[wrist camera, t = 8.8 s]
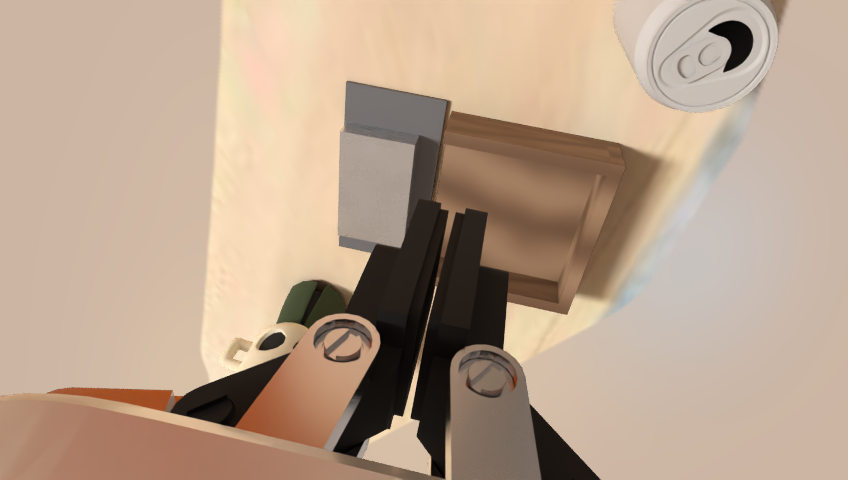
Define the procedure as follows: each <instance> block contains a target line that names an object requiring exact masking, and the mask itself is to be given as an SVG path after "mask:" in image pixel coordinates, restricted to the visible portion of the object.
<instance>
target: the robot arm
mask: <svg viewBox="0 0 848 480" xmlns="http://www.w3.org/2000/svg"><path fill="white" fill-rule="evenodd" d="M448 213H449V210H444V209H441V203H440V202H435V201H430V200H425V199H419V200H418V203H417V205H416V208H415V211H414V213H413V216H412V219H411V222H410V224H409V227H408V230H407V232H406V235H405V238H404V240H403V243H402V246H401V248H396V247H391V246H386V245H382V244H376V245H375V247H374V249H373V251H372V253H371V256H370V258H369V260H368V262H367V265H366V267H365V269H364V271H363V274H362V276H361V278H360V280H359V282H358V285H357V287H356V289H355V291H354V294H353V296H352V298H351V300H350V303H349V305H348V307H347V309H346V312H345V314H334V315H329V316H326V317H324V318H322V319H320V320H318V321H316V322H315V323H314V324H313V325H312V326H311V327H310V328H309V329H308V331H307V332H306V333H305V335H304V336H303V337H302V339H301V340H300V341H299V343H298V344H297V345H296V347H295V348H294V349H293V351H292V352H290V353H287V354H285V355H282V356H279V357H277V358H274V359H272V360H269V361H266V362H264V363H261V364H258V365H256V366H253V367H251V368H248V369H245V370H243V371H240V372H237V373H235V374H232V375H230V376H227V377H224V378H222V379H219V380H216V381H214V382H211V383H209V384H206V385H203V386H201V387H199V388H197V389H194V390H193V391H191V392H189V393H187V394H186V395H184V396H174V394H173V390H143V389H109V388H107V389H106V388H73V387H72V388H64V389H57V390H54V391H51V392H48V393H46V394H31V393H23V394H13V395H3V396H0V480H600V479H599V477H598V476H597V475H596V474H595V473H594V472H593V471H592V470H591V469H590V468H589V467H588V466H587V465H586V464H585V462H584V461H583V460H582V459H581V458H580V457H579V456H578V455H577V454H576V453H575V452H574V451H573V450H572V449H571V448H570V447H569V445H568V444H567V443H566V442H565V441H564V440H563V439H562V438H561V437H560V436H559V435H558V434H557V433H556V431H554V429H553V428H552V427H551V426H550V425H549V424H548V423H547V422H546V421H545V420H544V419H543V417H542V416H541V415H540V414H539V413H538V412H537V411H536V410H535V409H534V408H533V407H532V406H531V405H530V404H529V398H528V391H527V385H526V378H525V375H524V372H523V369H522V367H521V366H520V364H519V363H518V362H517V360H516V359H515V358H514V357H512V356H511V355H510V354H509V353H507V352H506V351H504V350H503V345H504V333H505V320H506V307H507V294H508V281H509V272H508V271H503V270H498V269H494V268H489V267H484V266H480V261H481V255H482V248H483V242H484V235H485V229H486V222H487V216H488V212H483V211H478V210H474V209H469V208H466V210H465V214H463V213H459V212H456V213H455V217H454V221H453V225H452V229H451V233H450V237H449V241H448V245H447V249H446V253H445V257H444V261H443V265H442V269H441V273H440V277H439V281H438V285H437V289H436V293H435V297H434V301H433V305H432V309H431V313H430V318H429V322H428V327H427V332H426V338H425V343H424V348H423V354H422V359H421V364H420V370H419V375H418V381H417V386H416V391H415V397H414V402H413V407H412V413H411V419H415V420H419V421H420V422H419V427H418V432H417V438H418V439H419V440H420V442H421V443H422V444H423V446H424V447H425V449H426V450H427V451H428V453H429V454H430V455H429V460H428V471H427V475H426V474H422V473H418V472H414V471H410V470H406V469H402V468H398V467H393V466H390V465H386V464H382V463H377V462H374V461H369V460H365V459H362V458H363V455H364V453H365V451H366V449H367V446H368V443H369V438H370V437H372V436H374V435H376V434H378V433H380V432H382V431H384V430H386V429H390V427H391V423H392V419H393V416H394V415H398V416H402V417H403V414H404V410H405V407H406V403H407V399H408V395H409V391H410V387H411V383H412V379H413V375H414V371H415V367H416V363H417V359H418V355H419V351H420V347H421V343H422V339H423V335H424V332H425V328H426V324H427V320H428V316H429V312H430V308H431V304H432V299H433V294H434V289H435V283H436V278H437V273H438V267H439V262H440V257H441V251H442V246H443V240H444V235H445V230H446V224H447V219H448Z"/></svg>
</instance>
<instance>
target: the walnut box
mask: <svg viewBox="0 0 848 480" xmlns="http://www.w3.org/2000/svg"><path fill="white" fill-rule="evenodd" d="M443 144H445V150H444V156H443V162H442V168H441V174H440V180H439V186H438V192H437V198H436V202H440V203H441V209H444V210H449V213H448V219H447V224H446V230H445V235H444V240H443V246H442V251H441V257H440V262H439V267H438V273H437V278H436V283H435V286H437V285H438V281H439V277H440V273H441V269H442V265H443V261H444V257H445V253H446V249H447V245H448V241H449V237H450V233H451V229H452V225H453V221H454V217H455V213H456V212H459V213H463V214H465V210H466V208H469V209H474V210H478V211H483V212H488V216H487V222H486V229H485V235H484V242H483V248H482V255H481V261H480V266H484V267H489V268H494V269H498V270H503V271H508V272H509V281H508V294H507V302H511V303H515V304H520V305H524V306H529V307H534V308H538V309H543V310H547V311H552V312H556V313H561V314H566V315H567V314H568V311H569V309H570V306H571V304H572V301H573V299H574V296H575V294H576V291H577V289H578V286H579V284H580V281H581V279H582V276H583V273H584V271H585V268H586V266H587V263H588V261H589V258H590V256H591V253H592V251H593V248H594V246H595V243H596V241H597V238H598V236H599V233H600V231H601V228H602V226H603V223H604V221H605V218H606V216H607V213H608V211H609V208H610V206H611V203H612V201H613V198H614V196H615V193H616V190H617V188H618V185H619V183H620V180H621V178H622V175H623V173H624V170H625V168H626V165H625V162H624V159H623V155H622V152H621V149H620V146H619V143H614V142H609V141H603V140H598V139H593V138H588V137H583V136H578V135H573V134H567V133H562V132H557V131H552V130H547V129H542V128H536V127H531V126H526V125H521V124H516V123H511V122H505V121H500V120H495V119H490V118H485V117H480V116H475V115H469V114H464V113H459V112H454V111H452V113H451V115H450V118H449V121H448V123H447V126H446V129H445V132H444V138H443Z"/></svg>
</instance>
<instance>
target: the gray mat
mask: <svg viewBox="0 0 848 480" xmlns="http://www.w3.org/2000/svg"><path fill="white" fill-rule="evenodd" d="M446 105H447V100H444V99H439V98H434V97H429V96H423V95H418V94H413V93H408V92H403V91H397V90H392V89H387V88H382V87H377V86H371V85H366V84H361V83H356V82H351V81H347V82H346V99H345V122H344V126H345V125H346V123H347V122H352V123H357V124H363V125H368V126H374V127H379V128H385V129H390V130H396V131H401V132H407V133H412V134H418V135H420V136H419V145H418V153H417V162H416V171H415V179H414V188H413V196H412V205H411V213H410V222H411V219H412V216H413V213H414V211H415V208H416V205H417V203H418V200H419V199H425V200H430V201H431V199H432V192H433V186H434V180H435V174H436V167H437V161H438V155H439V149H440V143H441V136H442V130H443V124H444V118H445V112H446ZM410 222H409V224H410ZM376 244H380V243H375V242H370V241H365V240H360V239H355V238H350V237H345V236H340V237H339V246H342V247H346V248H351V249H356V250H360V251H365V252H370V253H372V251H373V249H374V247H375V245H376ZM382 245H385V244H382ZM386 246H390V245H386ZM391 247H395V246H391ZM396 248H400V247H396Z"/></svg>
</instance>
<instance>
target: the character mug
mask: <svg viewBox="0 0 848 480" xmlns="http://www.w3.org/2000/svg"><path fill="white" fill-rule="evenodd" d="M317 283H318V282H315V281H303V282H301V283H299V284H297V285H295V286H293V287H292V289H291V291H290V293H289V294H288V296H287V298H286V300H285V303H284V305H283V307H282V310H281V313H280V315H279V318H278V321H277V323H276V324H274V325H271V326H269V327H268V328H266V329H265V330H263V331H262V332H260V333H259V335H258V336H257V338H256V339H255V341H254V342H250V341H247V340H244V339H241V338H235V339H234V340H233V341H231V343H230V344H229V346H228V347H227V349H226V350H225V352H224V353H223V355H222V356H221V358H220V360H219V364H220V365H221V366H223V367H224V368H226V369H229V370H232V371H235V373H237V372H240V371H243V370H245V369H248V368H251V367H253V366H256V365H258V364H261V363H264V362H266V361H269V360H272V359H274V358H277V357H279V356H282V355H285V354H287V353H290V352H292V351H293V349H294V348H295V347H296V345H297V344H298V343H299V341H300V340H301V339H302V337H303V336H304V335H305V333H306V332H307V331H308V329H309V328H310V327H311V326H312V325H313V324H314V323H315V322H316V321H318V320H320V319H322V318H324V317H326V316H329V315H334V314H345V303H344V302H343V300H342V298H341V296H340V295H339V294H338V293H337V292H336V291H335V290H333V289H332V288H331V287H330V286H326V287H325V289H324V290H323V292H322V293H321V292H319V291H314V290H315V288H316V286H317ZM238 350H242V351H245V352H247V354H246V356H245V357H244V359H243V361H242V362H241V361H238V360H235V359H233V357H234V356H235V354H236V352H237V351H238Z"/></svg>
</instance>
